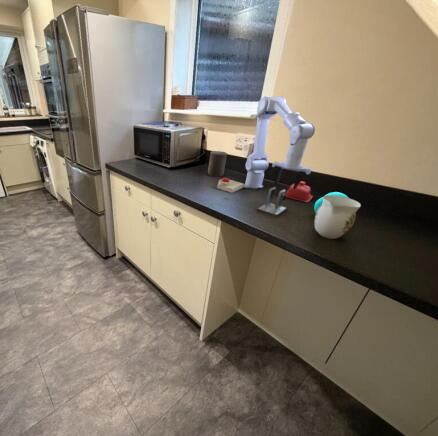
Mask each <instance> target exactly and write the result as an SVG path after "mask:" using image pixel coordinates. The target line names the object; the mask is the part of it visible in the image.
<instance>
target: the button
mask: <svg viewBox="0 0 438 436" xmlns="http://www.w3.org/2000/svg"><path fill="white" fill-rule="evenodd" d="M221 179H222V182H229V180H230V178H229V177H222V178H221Z"/></svg>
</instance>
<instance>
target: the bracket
mask: <svg viewBox="0 0 438 436" xmlns="http://www.w3.org/2000/svg"><path fill="white" fill-rule="evenodd" d="M274 190H277V187H276V186H273V187H271V188H269V189H268V193H267V197H266V200H265V203H264V204H263V205H261V206H259V207H258V208H257V210H259V211H262V212H264V213H268V214H270V215H273V216H278V215H280V214H281V213H282V212H284V211H285V210H287V207H286V206H282V204H283V201H284V200H283V198H284V195H285V192H286V191H287V190H286V189H282V190H279V191H280V192H279V194H278V197H276V201H275V203H273V200H274V197H275V196H273V195H272V193H273V191H274Z"/></svg>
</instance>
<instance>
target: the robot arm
mask: <svg viewBox="0 0 438 436" xmlns="http://www.w3.org/2000/svg"><path fill="white" fill-rule="evenodd" d="M277 114H278V115H279V116H280V117H281V118H282V119H283V124H284V126H285V127H286V128H287V129H288V131H289V147H288V150H287V152H286V153H287V154H286V157H285V160H284V162H281V161H280V162H279V161H273V162H272V166H271V167H272V171H273V174H274V185H278V184H279V183H280V179H281V175H282V172H283V171H284V170H289V171H293V172H297V173H296V177H295V182H294V183H293V184H294V187H293V189H296V188H297V186H298V184H299V183H300V181H303V179H304V178H305V177H306V176H307V175H310V174H311V172H312V168H311V167H306V166H303V165H301V164H302V160H303V157H304V153H305V150H306V148H307V144H308V141H309V139H311V138H312V137H313V136H314V134H315V131H316V127H315V125H314V123H311V122H306V120H305V119H304V118H303V117H302V116H300V114H301V113H300V112H297V111H293V112H292V110H291V109H290V107H289V106H288V104H287V100H286V99H285V97H284V96H262V97H261V98H260V100H259V101H258V103H257V108H256V117H257V119H256V127H255V136H254V143H253V144H254V145H253V152H252V153H250V154H249V155H248V156H247V158H246V162H245V169H246V173H247V174H246V179H245V183H244V189H248V188H249V189H259V188H261V189H262V188H264V185H263V181H264V177H265V171H267V170H268V168H269V155H268V154H266V153H265V152H266V144H267V138H268V129H269V121H270V119H271V118H272V117H274V116H276V115H277Z"/></svg>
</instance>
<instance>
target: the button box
mask: <svg viewBox="0 0 438 436" xmlns="http://www.w3.org/2000/svg"><path fill="white" fill-rule="evenodd" d="M216 185H217V186H216V188H217V189H219V190H221V191H225V192H228V193H231V194H233V193H235V192H237V191H239V190H241V189H243V188H244V189H245V187H244V185H245V183H243V182H239V181H236V180H233V179H229V182H222V178H221V179H219V180H218V184H216Z"/></svg>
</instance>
